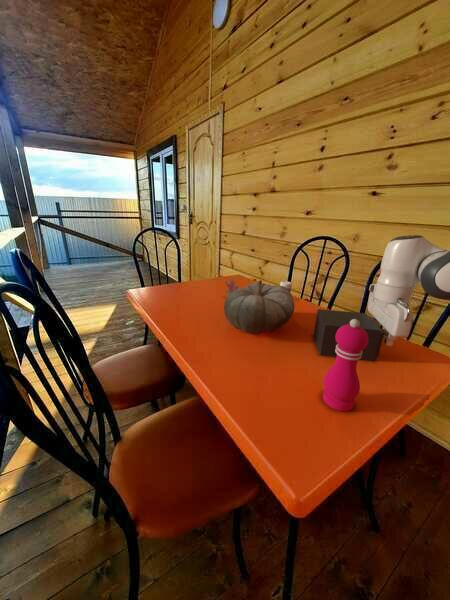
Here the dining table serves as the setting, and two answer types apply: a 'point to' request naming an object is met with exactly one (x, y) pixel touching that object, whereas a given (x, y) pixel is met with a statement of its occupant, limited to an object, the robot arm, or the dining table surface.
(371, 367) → the dining table surface
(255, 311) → the gourd
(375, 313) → the robot arm
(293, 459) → the dining table surface
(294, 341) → the dining table surface
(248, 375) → the dining table surface
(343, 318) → the cabinet
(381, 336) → the drawer
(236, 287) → the lily
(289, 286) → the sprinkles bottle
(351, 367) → the pepper mill
